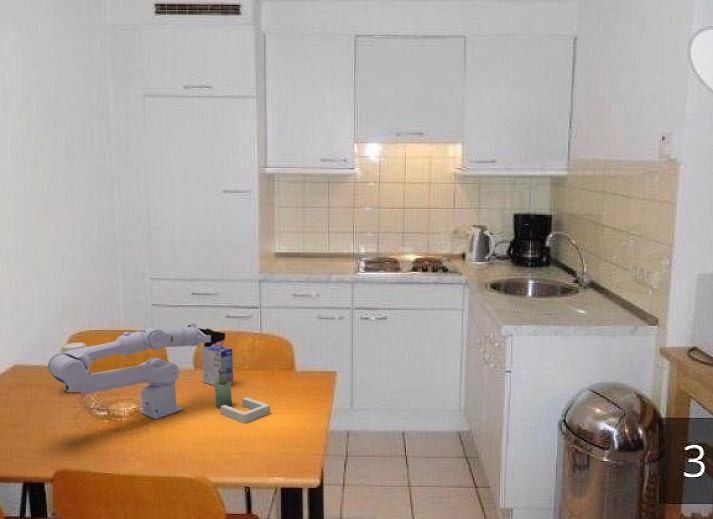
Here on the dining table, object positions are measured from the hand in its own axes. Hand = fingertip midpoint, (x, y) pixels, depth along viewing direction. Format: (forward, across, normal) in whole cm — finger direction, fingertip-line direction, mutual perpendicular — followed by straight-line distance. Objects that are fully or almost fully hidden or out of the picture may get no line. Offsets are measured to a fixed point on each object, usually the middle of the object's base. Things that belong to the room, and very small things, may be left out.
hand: (217, 335), depth 208 cm
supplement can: (-25, +41, +22) cm, 53 cm away
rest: (-2, -18, +21) cm, 28 cm away
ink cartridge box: (+9, +10, +18) cm, 22 cm away
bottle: (-2, -9, +20) cm, 22 cm away
